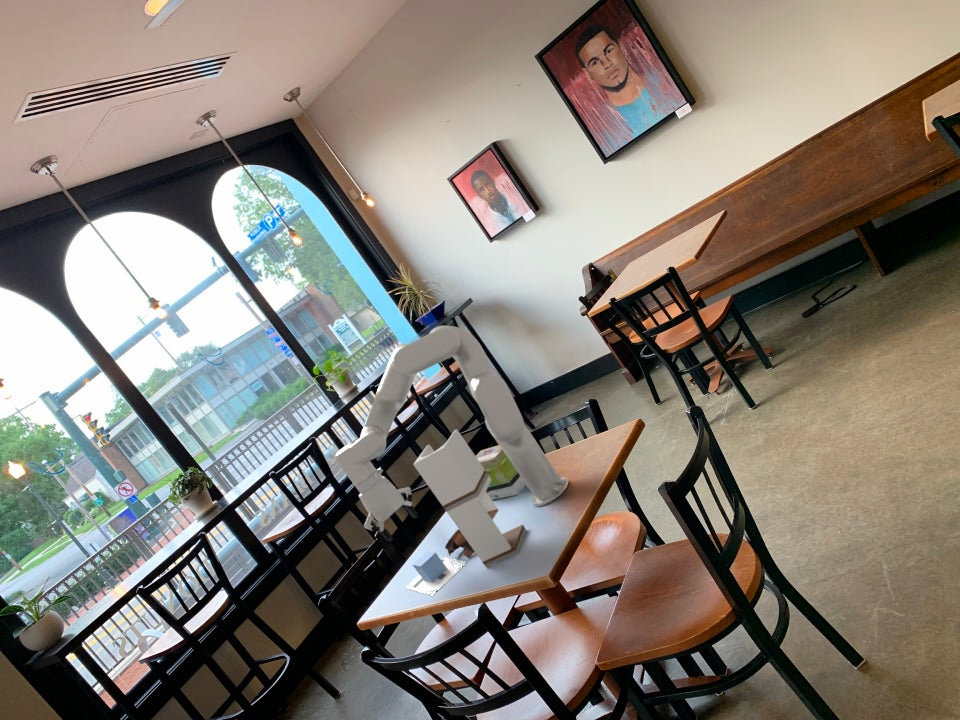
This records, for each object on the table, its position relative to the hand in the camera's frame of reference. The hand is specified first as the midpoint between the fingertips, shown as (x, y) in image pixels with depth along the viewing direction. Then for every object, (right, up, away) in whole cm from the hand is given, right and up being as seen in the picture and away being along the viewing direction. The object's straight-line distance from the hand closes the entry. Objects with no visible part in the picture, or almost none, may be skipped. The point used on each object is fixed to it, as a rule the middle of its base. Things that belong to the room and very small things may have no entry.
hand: (403, 528), depth 211 cm
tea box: (+33, +6, +30) cm, 45 cm away
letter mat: (+9, -14, +2) cm, 17 cm away
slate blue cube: (+9, -14, +2) cm, 17 cm away
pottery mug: (+20, -7, +4) cm, 21 cm away
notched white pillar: (+30, -3, -11) cm, 32 cm away
